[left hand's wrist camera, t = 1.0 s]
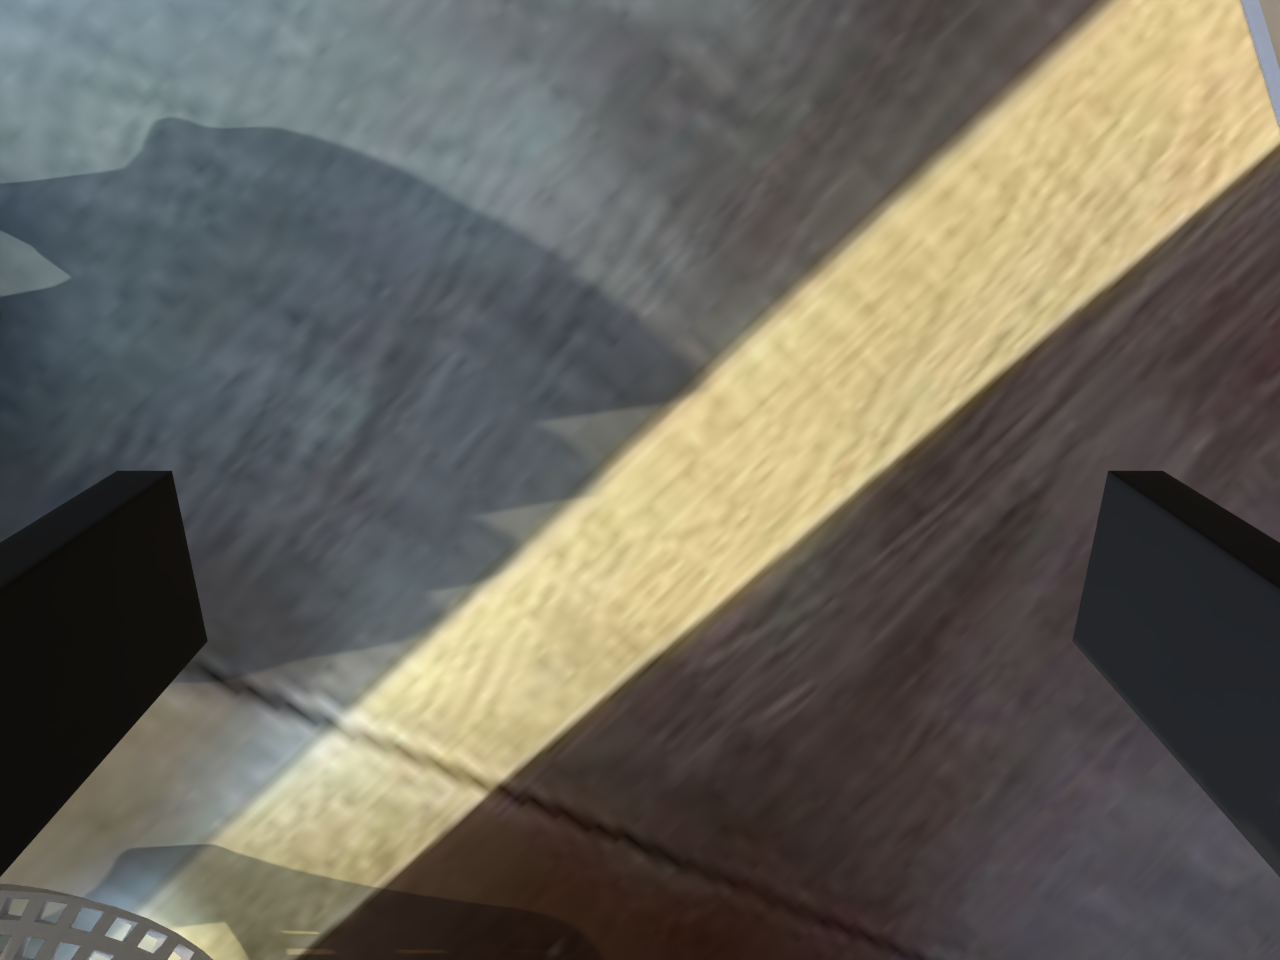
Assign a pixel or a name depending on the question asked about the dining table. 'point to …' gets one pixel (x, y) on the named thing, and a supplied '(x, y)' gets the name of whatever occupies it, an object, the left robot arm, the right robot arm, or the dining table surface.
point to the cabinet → (1266, 42)
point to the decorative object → (121, 953)
